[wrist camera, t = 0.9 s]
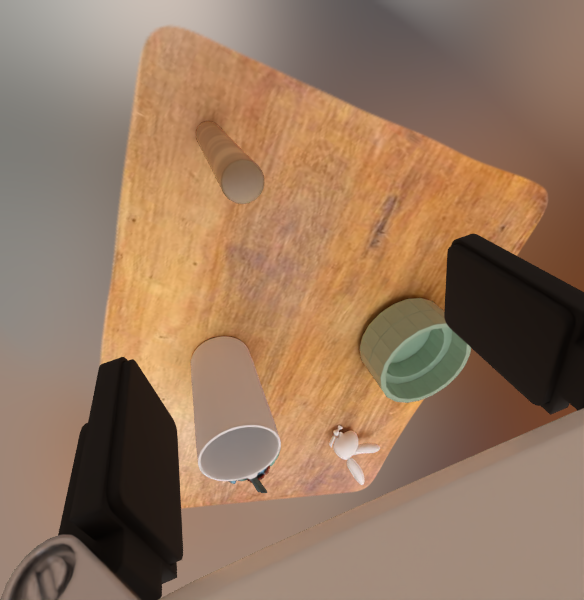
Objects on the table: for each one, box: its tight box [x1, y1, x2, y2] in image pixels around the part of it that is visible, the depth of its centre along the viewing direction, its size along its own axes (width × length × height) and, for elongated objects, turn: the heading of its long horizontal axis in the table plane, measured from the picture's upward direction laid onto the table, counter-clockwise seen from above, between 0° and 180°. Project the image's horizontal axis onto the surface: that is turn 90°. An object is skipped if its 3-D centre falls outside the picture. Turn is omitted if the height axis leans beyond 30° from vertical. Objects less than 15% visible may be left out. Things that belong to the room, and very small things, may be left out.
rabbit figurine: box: [329, 425, 380, 485], centre depth 52 cm, size 6×4×8 cm
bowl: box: [360, 298, 471, 403], centre depth 43 cm, size 11×11×6 cm
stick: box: [196, 121, 264, 204], centre depth 22 cm, size 2×2×14 cm
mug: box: [191, 336, 281, 481], centre depth 35 cm, size 10×7×12 cm, turn 9°
